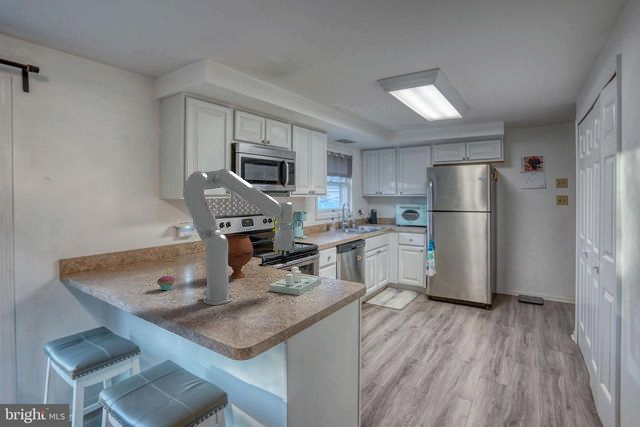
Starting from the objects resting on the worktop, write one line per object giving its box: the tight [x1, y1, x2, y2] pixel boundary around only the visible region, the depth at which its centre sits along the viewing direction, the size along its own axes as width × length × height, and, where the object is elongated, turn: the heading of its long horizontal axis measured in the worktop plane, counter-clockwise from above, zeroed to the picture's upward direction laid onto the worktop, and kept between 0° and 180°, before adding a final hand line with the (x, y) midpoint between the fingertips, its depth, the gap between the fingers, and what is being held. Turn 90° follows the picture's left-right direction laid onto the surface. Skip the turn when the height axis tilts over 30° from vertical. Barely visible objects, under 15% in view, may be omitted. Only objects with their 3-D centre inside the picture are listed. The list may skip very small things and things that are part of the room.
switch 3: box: [293, 270, 302, 282], centre depth 171 cm, size 3×3×5 cm
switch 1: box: [284, 273, 294, 286], centre depth 164 cm, size 3×3×5 cm
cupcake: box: [156, 266, 176, 291], centre depth 170 cm, size 9×8×12 cm
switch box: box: [268, 275, 322, 296], centre depth 172 cm, size 18×22×3 cm
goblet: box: [225, 233, 254, 280], centre depth 194 cm, size 19×19×25 cm
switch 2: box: [290, 266, 300, 274], centre depth 180 cm, size 3×3×5 cm
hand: (284, 263), depth 165 cm, fingers closed
